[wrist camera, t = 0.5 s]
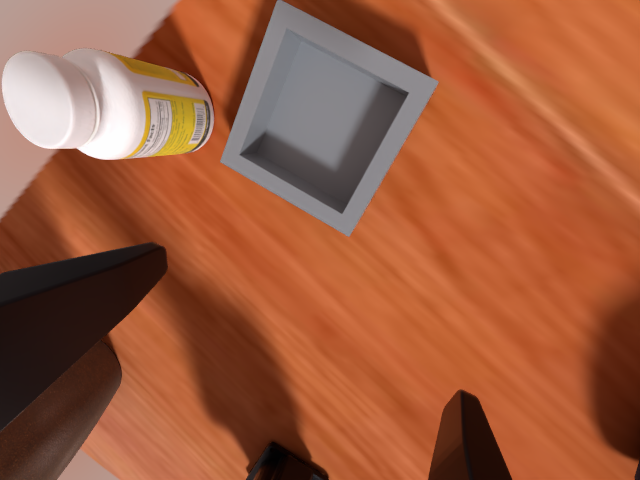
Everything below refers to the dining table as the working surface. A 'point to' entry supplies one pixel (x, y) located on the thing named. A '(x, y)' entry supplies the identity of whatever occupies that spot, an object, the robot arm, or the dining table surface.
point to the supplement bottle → (105, 104)
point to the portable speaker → (638, 472)
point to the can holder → (323, 117)
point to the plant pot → (59, 418)
